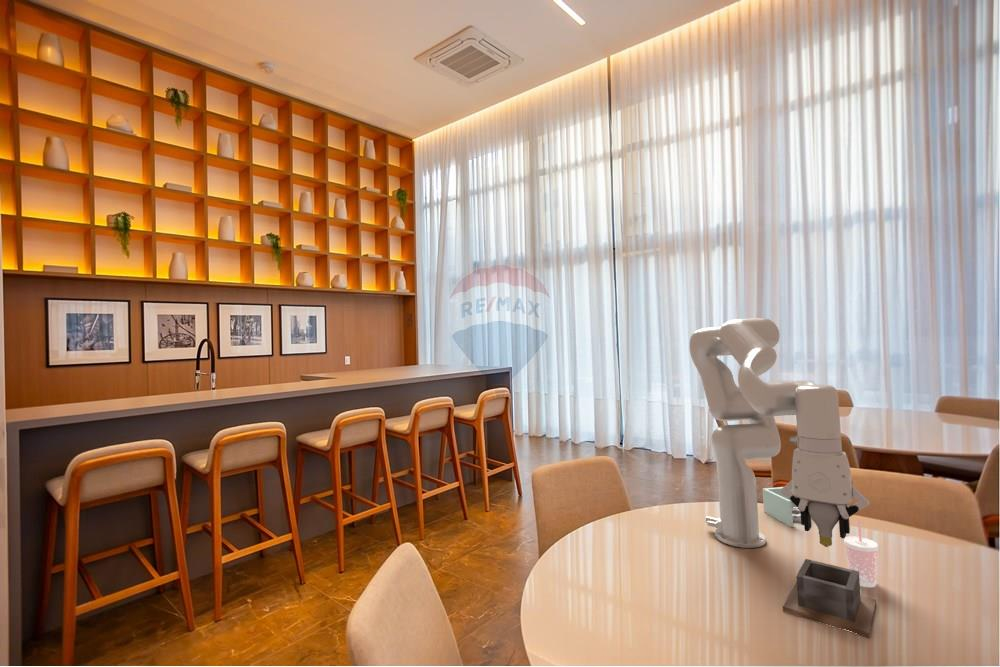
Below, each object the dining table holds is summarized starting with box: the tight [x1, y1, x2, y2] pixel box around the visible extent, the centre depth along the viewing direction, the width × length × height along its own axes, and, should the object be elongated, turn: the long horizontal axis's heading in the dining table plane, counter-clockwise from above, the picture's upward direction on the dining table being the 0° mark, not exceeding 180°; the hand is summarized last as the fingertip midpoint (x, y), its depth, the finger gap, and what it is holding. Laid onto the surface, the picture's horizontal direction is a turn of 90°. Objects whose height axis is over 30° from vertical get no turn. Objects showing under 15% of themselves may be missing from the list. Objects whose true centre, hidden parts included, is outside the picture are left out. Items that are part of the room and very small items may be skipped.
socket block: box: [782, 558, 877, 639], centre depth 97 cm, size 14×14×7 cm
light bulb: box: [807, 501, 841, 548], centre depth 97 cm, size 6×6×10 cm
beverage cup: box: [843, 518, 879, 588], centre depth 106 cm, size 6×6×14 cm
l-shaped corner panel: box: [762, 486, 801, 527], centre depth 143 cm, size 12×12×8 cm
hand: (825, 531), depth 97 cm, fingers closed on light bulb, 5 cm apart
